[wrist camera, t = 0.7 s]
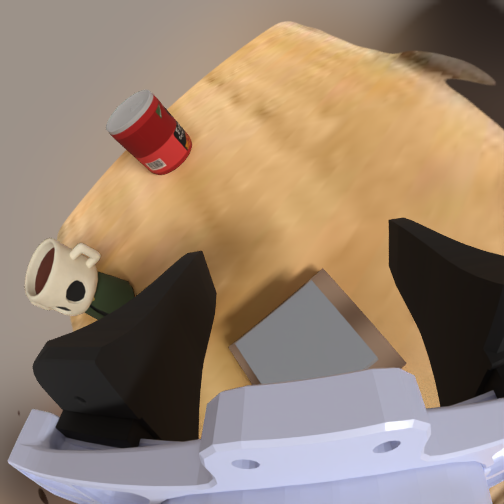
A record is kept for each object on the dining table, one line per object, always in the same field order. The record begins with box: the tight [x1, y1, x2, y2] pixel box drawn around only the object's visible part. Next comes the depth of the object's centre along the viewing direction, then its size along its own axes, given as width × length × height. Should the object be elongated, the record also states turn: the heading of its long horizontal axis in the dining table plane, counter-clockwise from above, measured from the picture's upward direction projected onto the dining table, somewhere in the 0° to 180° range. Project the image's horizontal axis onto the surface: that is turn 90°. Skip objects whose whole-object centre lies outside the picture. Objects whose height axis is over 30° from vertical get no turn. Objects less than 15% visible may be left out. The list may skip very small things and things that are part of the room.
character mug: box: [24, 238, 134, 320], centre depth 33 cm, size 11×7×13 cm, turn 123°
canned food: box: [106, 90, 192, 175], centre depth 42 cm, size 8×8×11 cm
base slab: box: [229, 269, 406, 385], centre depth 26 cm, size 11×11×2 cm
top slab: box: [235, 280, 378, 384], centre depth 24 cm, size 8×8×2 cm
